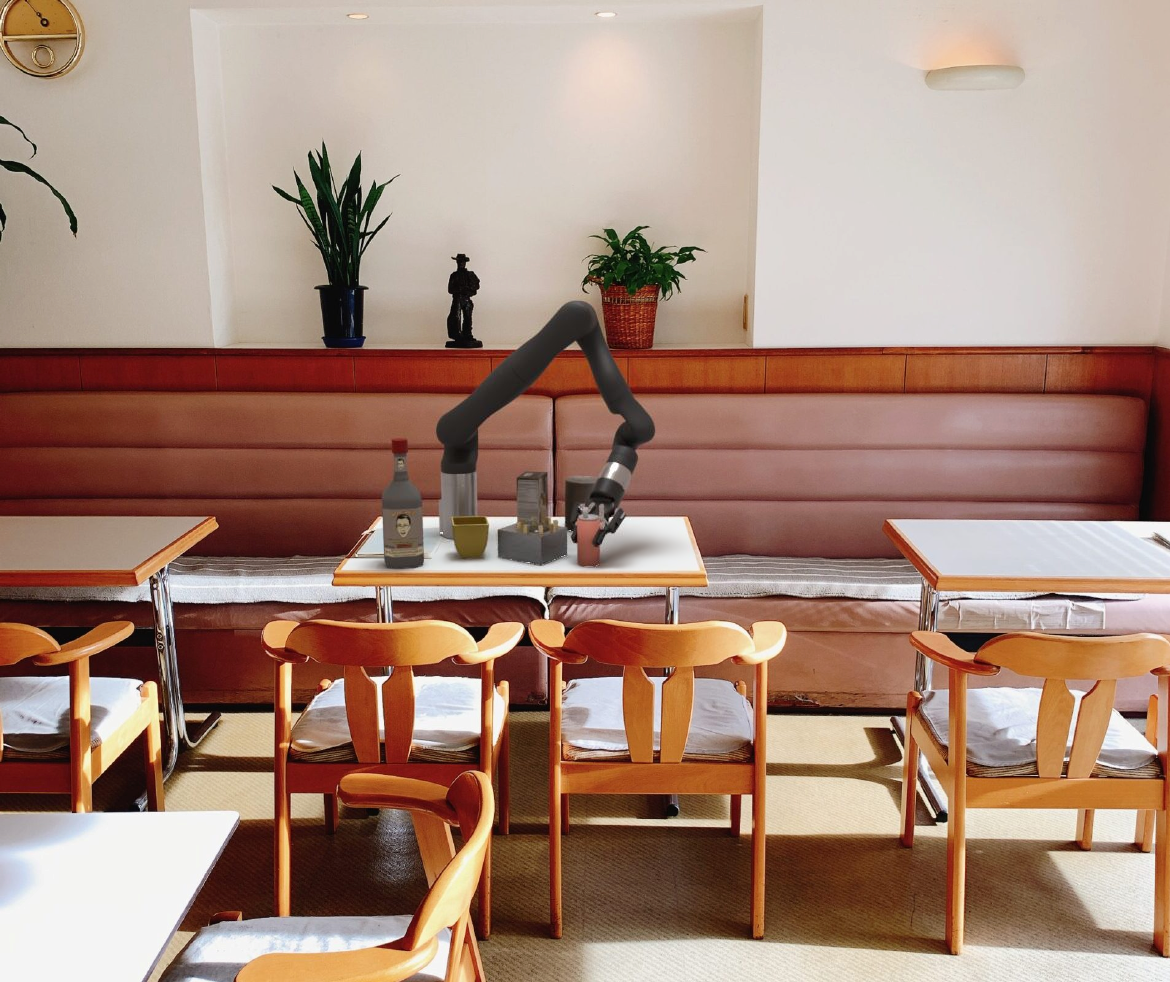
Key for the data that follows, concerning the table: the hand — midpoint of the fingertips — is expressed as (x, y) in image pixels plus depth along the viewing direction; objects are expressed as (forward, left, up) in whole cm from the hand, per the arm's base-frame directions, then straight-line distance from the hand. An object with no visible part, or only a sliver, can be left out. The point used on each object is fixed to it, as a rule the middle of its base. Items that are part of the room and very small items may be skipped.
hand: (584, 543), depth 247 cm
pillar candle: (-20, +30, -6) cm, 36 cm away
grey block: (-17, 0, -5) cm, 17 cm away
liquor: (-37, -22, -6) cm, 44 cm away
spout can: (0, +2, -5) cm, 6 cm away
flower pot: (-28, -8, -6) cm, 30 cm away
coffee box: (-28, +18, -6) cm, 34 cm away
